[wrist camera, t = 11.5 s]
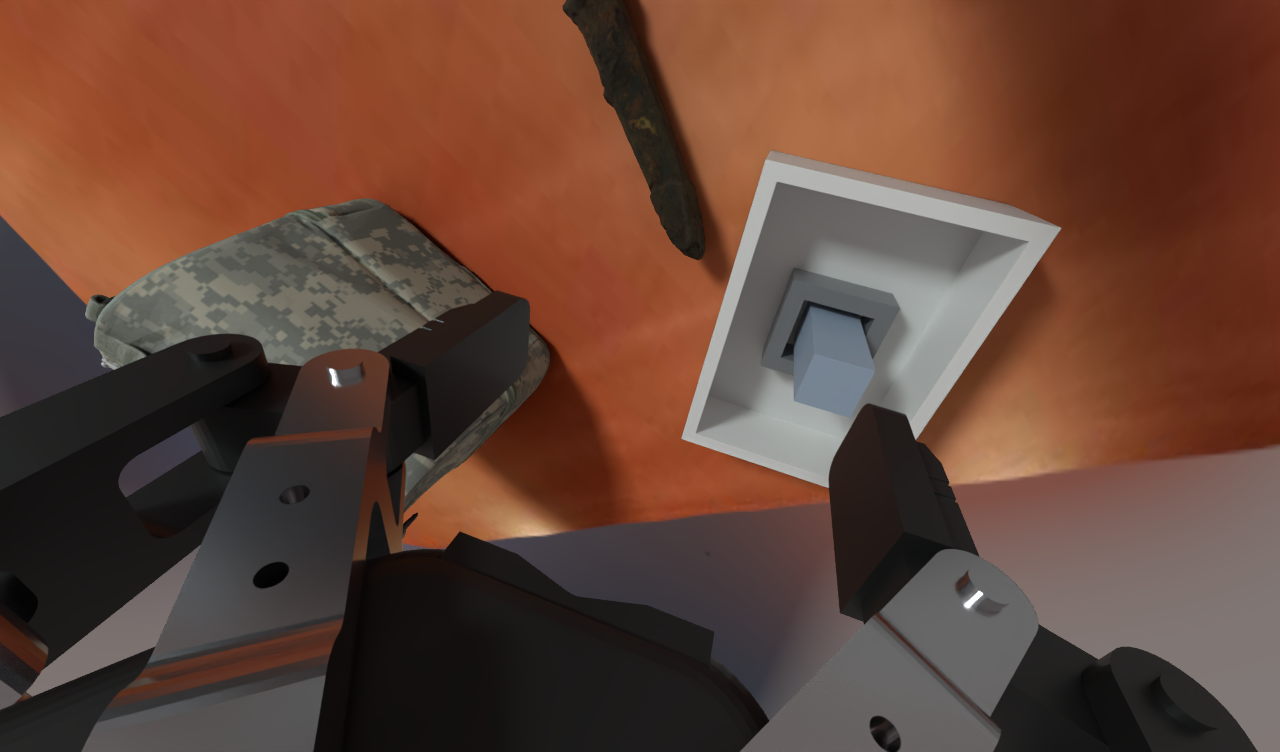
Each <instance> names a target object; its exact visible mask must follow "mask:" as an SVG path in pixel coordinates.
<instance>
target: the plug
mask: <svg viewBox="0 0 1280 752" xmlns="http://www.w3.org/2000/svg"><path fill="white" fill-rule="evenodd" d="M875 371H876V370H875V367H874V364H873V360H872V357H871V354H870V351H869V347H868V344H867V341H866V338H865V334H864V331H863V328H862V325H861V321H860V318H859V315H858V314H855V313H851V312H847V311H844V310H840V309H836V308H833V307H829V306H826V305H822V304H818V303H815V302H811V301H808V303H807V305H806V308H805V310H804V313H803V315H802V318H801V320H800V323H799V325H798V328H797V330H796V333H795V335H794V401H795V402H798V403H802V404H805V405H808V406H812V407H815V408H818V409H822V410H825V411H828V412H832V413H835V414H839V415H842V416H845V417H849V418H851V416H852V414H853V412H854V410H855V408H856V406H857V405H858V403H859V401H860V399H861V397H862V395H863V393H864V392H865V390H866V388H867V386H868V384H869V382H870V381H871V379H872V377H873V375H874V373H875Z"/></svg>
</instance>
